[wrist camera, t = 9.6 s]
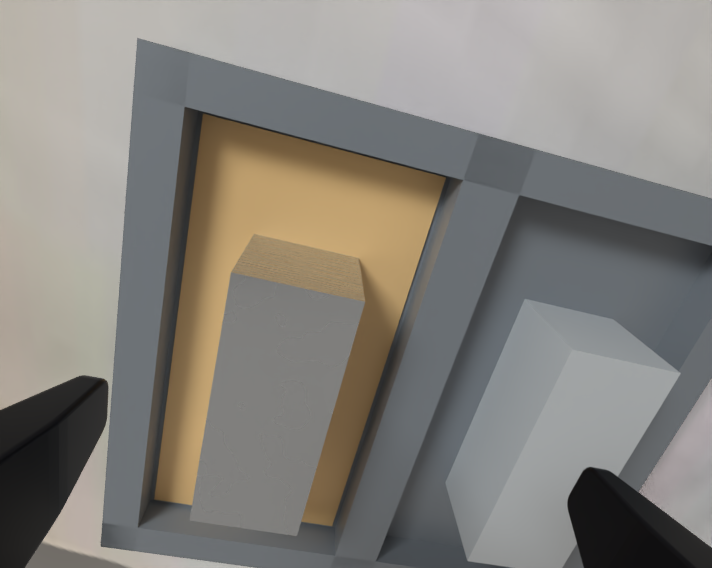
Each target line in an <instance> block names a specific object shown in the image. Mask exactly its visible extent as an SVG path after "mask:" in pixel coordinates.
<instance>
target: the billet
mask: <svg viewBox="0 0 712 568" xmlns="http://www.w3.org/2000/svg"><path fill="white" fill-rule="evenodd" d="M364 304H365V297H364V290H363V283H362V276H361V269H360V262H359V258H356V257H352V256H348V255H343V254H339V253H335V252H331V251H326V250H322V249H318V248H313V247H309V246H305V245H300V244H296V243H292V242H287V241H283V240H279V239H275V238H270V237H266V236H262V235H257V234H254V235H253V236H252V238H251V240H250V241H249V243H248V245H247V246H246V248H245V250H244V251H243V253H242V255H241V256H240V258H239V260H238V261H237V263H236V265H235V266H234V268H233V270H232V271H231V275H230V281H229V287H228V293H227V299H226V305H225V311H224V317H223V323H222V329H221V335H220V341H219V347H218V352H217V358H216V364H215V370H214V376H213V382H212V388H211V394H210V400H209V406H208V412H207V418H206V424H205V430H204V436H203V442H202V448H201V454H200V460H199V466H198V472H197V478H196V484H195V490H194V496H193V502H192V508H191V514H190V520H189V521H196V522H203V523H210V524H217V525H224V526H230V527H237V528H244V529H251V530H258V531H265V532H272V533H278V534H285V535H292V536H297V534H298V531H299V527H300V524H301V520H302V517H303V514H304V510H305V507H306V503H307V500H308V496H309V493H310V490H311V486H312V483H313V479H314V476H315V472H316V469H317V465H318V462H319V459H320V455H321V452H322V448H323V445H324V441H325V438H326V435H327V431H328V428H329V424H330V421H331V417H332V414H333V410H334V407H335V404H336V400H337V397H338V393H339V390H340V386H341V383H342V380H343V376H344V373H345V369H346V366H347V362H348V359H349V356H350V352H351V349H352V345H353V342H354V338H355V335H356V331H357V328H358V325H359V321H360V318H361V314H362V311H363V307H364Z"/></svg>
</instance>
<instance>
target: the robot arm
mask: <svg viewBox="0 0 712 568" xmlns="http://www.w3.org/2000/svg"><path fill="white" fill-rule="evenodd" d="M107 408H108V383H107V381H106V380H105V379H102V378H97V377H91V376H85V375H82V376H79V377H76V378H74V379H71V380H69V381H67V382H64V383H62V384H60V385H57V386H55V387H53V388H50V389H48V390H46V391H43V392H41V393H39V394H37V395H34V396H32V397H30V398H27V399H25V400H23V401H20V402H18V403H16V404H13V405H11V406H9V407H6V408H4V409H2V410H0V568H25V566H26V565H27V563H28V562H29V560H30V559H31V557H32V556H33V554H34V553H35V551H36V550H37V548H38V547H39V545H40V544H41V542H42V541H43V539H44V538H45V536H46V535H47V533H48V531H49V530H50V528H51V527H52V525H53V524H54V522H55V520H56V519H57V517H58V516H59V514H60V512H61V510H62V509H63V507H64V505H65V503H66V501H67V499H68V497H69V495H70V494H71V492H72V490H73V488H74V486H75V484H76V482H77V480H78V478H79V476H80V474H81V472H82V470H83V469H84V467H85V465H86V463H87V461H88V459H89V457H90V455H91V453H92V451H93V449H94V447H95V445H96V444H97V442H98V440H99V438H100V436H101V434H102V432H103V430H104V427H105V424H106V420H107ZM567 507H568V513H569V516H570V520H571V523H572V527H573V531H574V534H575V538H576V542H577V545H578V549H579V553H580V556H581V560H582V563H583V567H584V568H712V548H711V547H710V546H708V545H707V544H706V543H705V542H703V541H702V540H701V539H699V538H698V537H697V536H695V535H694V534H693V533H691V532H690V531H689V530H687V529H686V528H685V527H683V526H682V525H681V524H679V523H678V522H677V521H676V520H674V519H673V518H672V517H670V516H669V515H668V514H666V513H665V512H664V511H662V510H661V509H660V508H658V507H657V506H656V505H654V504H653V503H652V502H650V501H649V500H648V499H647V498H645V497H644V496H643V495H641V494H640V493H639V492H637V491H636V490H635V489H633V488H632V487H631V486H629V485H628V484H627V483H625V482H624V481H623V480H621V479H620V478H619V477H618V476H616V475H615V474H614V473H612V472H611V471H609V470H606V469H601V468H595V467H587V468H586V469H584V470H583V471H582V473H581V475H580V477H579V478H578V480H577V482H576V484H575V485H574V487H573V489H572V491H571V493H570V494H569V497H568V501H567Z"/></svg>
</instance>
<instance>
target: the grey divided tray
mask: <svg viewBox="0 0 712 568" xmlns="http://www.w3.org/2000/svg"><path fill="white" fill-rule="evenodd" d="M254 234H257V235H262V236H266V237H270V238H275V239H279V240H283V241H287V242H292V243H296V244H300V245H305V246H309V247H313V248H318V249H322V250H326V251H331V252H335V253H339V254H343V255H348V256H352V257H356V258H359V262H360V269H361V276H362V283H363V290H364V297H365V304H364V307H363V311H362V314H361V318H360V321H359V325H358V328H357V331H356V335H355V338H354V342H353V345H352V349H351V352H350V356H349V359H348V362H347V366H346V369H345V373H344V376H343V380H342V383H341V386H340V390H339V393H338V397H337V400H336V404H335V407H334V410H333V414H332V417H331V421H330V424H329V428H328V431H327V435H326V438H325V441H324V445H323V448H322V452H321V455H320V459H319V462H318V465H317V469H316V472H315V476H314V479H313V483H312V486H311V490H310V493H309V496H308V500H307V503H306V507H305V510H304V514H303V517H302V520H301V524H300V527H299V531H298V534H297V536H292V535H285V534H278V533H272V532H265V531H258V530H251V529H244V528H237V527H230V526H224V525H217V524H210V523H203V522H196V521H189V520H190V514H191V508H192V502H193V496H194V490H195V484H196V478H197V472H198V466H199V460H200V454H201V448H202V442H203V436H204V430H205V424H206V418H207V412H208V406H209V400H210V394H211V388H212V382H213V376H214V370H215V364H216V358H217V352H218V347H219V341H220V335H221V329H222V323H223V317H224V311H225V305H226V299H227V293H228V287H229V281H230V275H231V271H232V270H233V268H234V266H235V265H236V263H237V261H238V260H239V258H240V256H241V255H242V253H243V251H244V250H245V248H246V246H247V245H248V243H249V241H250V240H251V238H252V236H253V235H254ZM711 378H712V199H711V198H707V197H704V196H700V195H696V194H693V193H689V192H686V191H682V190H679V189H675V188H671V187H668V186H664V185H661V184H657V183H653V182H650V181H646V180H643V179H639V178H636V177H632V176H628V175H625V174H621V173H618V172H614V171H611V170H607V169H603V168H600V167H596V166H593V165H589V164H586V163H582V162H578V161H575V160H571V159H568V158H564V157H561V156H557V155H553V154H550V153H546V152H543V151H539V150H536V149H532V148H528V147H525V146H521V145H518V144H514V143H511V142H507V141H503V140H500V139H496V138H493V137H489V136H486V135H482V134H478V133H475V132H471V131H468V130H464V129H461V128H457V127H453V126H450V125H446V124H443V123H439V122H435V121H432V120H428V119H425V118H421V117H418V116H414V115H410V114H407V113H403V112H400V111H396V110H393V109H389V108H385V107H382V106H378V105H375V104H371V103H368V102H364V101H360V100H357V99H353V98H350V97H346V96H343V95H339V94H335V93H332V92H328V91H325V90H321V89H318V88H314V87H310V86H307V85H303V84H300V83H296V82H293V81H289V80H285V79H282V78H278V77H275V76H271V75H268V74H264V73H260V72H257V71H253V70H250V69H246V68H242V67H239V66H235V65H232V64H228V63H225V62H221V61H217V60H214V59H210V58H207V57H203V56H200V55H196V54H192V53H189V52H185V51H182V50H178V49H175V48H171V47H167V46H164V45H160V44H157V43H153V42H150V41H146V40H142V39H139V38H137V51H136V65H135V79H134V93H133V106H132V120H131V134H130V148H129V162H128V176H127V190H126V204H125V217H124V231H123V245H122V259H121V273H120V287H119V301H118V314H117V328H116V342H115V356H114V370H113V384H112V398H111V412H110V425H109V439H108V453H107V467H106V481H105V495H104V509H103V522H102V536H101V547H108V548H116V549H123V550H131V551H138V552H145V553H153V554H160V555H167V556H175V557H182V558H190V559H197V560H204V561H212V562H219V563H226V564H234V565H241V566H249V567H256V568H584V567H583V563H582V560H581V556H580V553H579V549H578V545H577V542H576V538H575V534H574V531H573V527H572V523H571V520H570V516H569V513H568V507H567V501H568V497H569V494H570V493H571V491H572V489H573V487H574V485H575V484H576V482H577V480H578V478H579V477H580V475H581V473H582V471H583V470H584V469H586V468H587V467H595V468H601V469H606V470H609V471H611V472H612V473H614V474H615V475H616V476H618V477H619V478H620V479H621V480H623V481H624V482H625V483H627V484H628V485H629V486H631V487H632V488H633V489H635V490H636V491H637V492H639V490H640V488H641V487H642V485H643V484H644V482H645V481H646V479H647V478H648V476H649V474H650V473H651V471H652V470H653V468H654V467H655V465H656V464H657V462H658V460H659V459H660V457H661V456H662V454H663V453H664V451H665V450H666V448H667V446H668V445H669V443H670V442H671V440H672V439H673V437H674V436H675V434H676V432H677V431H678V429H679V428H680V426H681V425H682V423H683V422H684V420H685V418H686V417H687V415H688V414H689V412H690V411H691V409H692V408H693V406H694V404H695V403H696V401H697V400H698V398H699V397H700V395H701V394H702V392H703V390H704V389H705V387H706V386H707V384H708V383H709V381H710V380H711Z"/></svg>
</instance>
